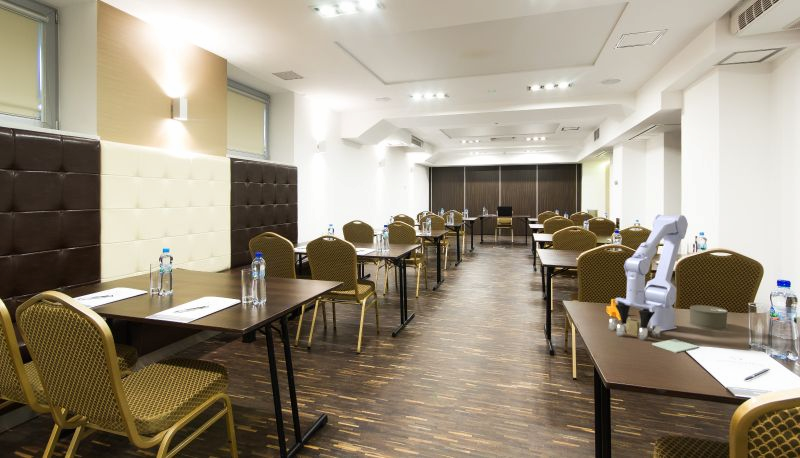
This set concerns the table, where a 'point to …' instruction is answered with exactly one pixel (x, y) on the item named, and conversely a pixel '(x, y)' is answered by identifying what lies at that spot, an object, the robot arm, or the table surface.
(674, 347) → the pad
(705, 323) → the can
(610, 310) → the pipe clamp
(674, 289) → the robot arm
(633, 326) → the brass nut
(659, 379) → the table surface
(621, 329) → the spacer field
